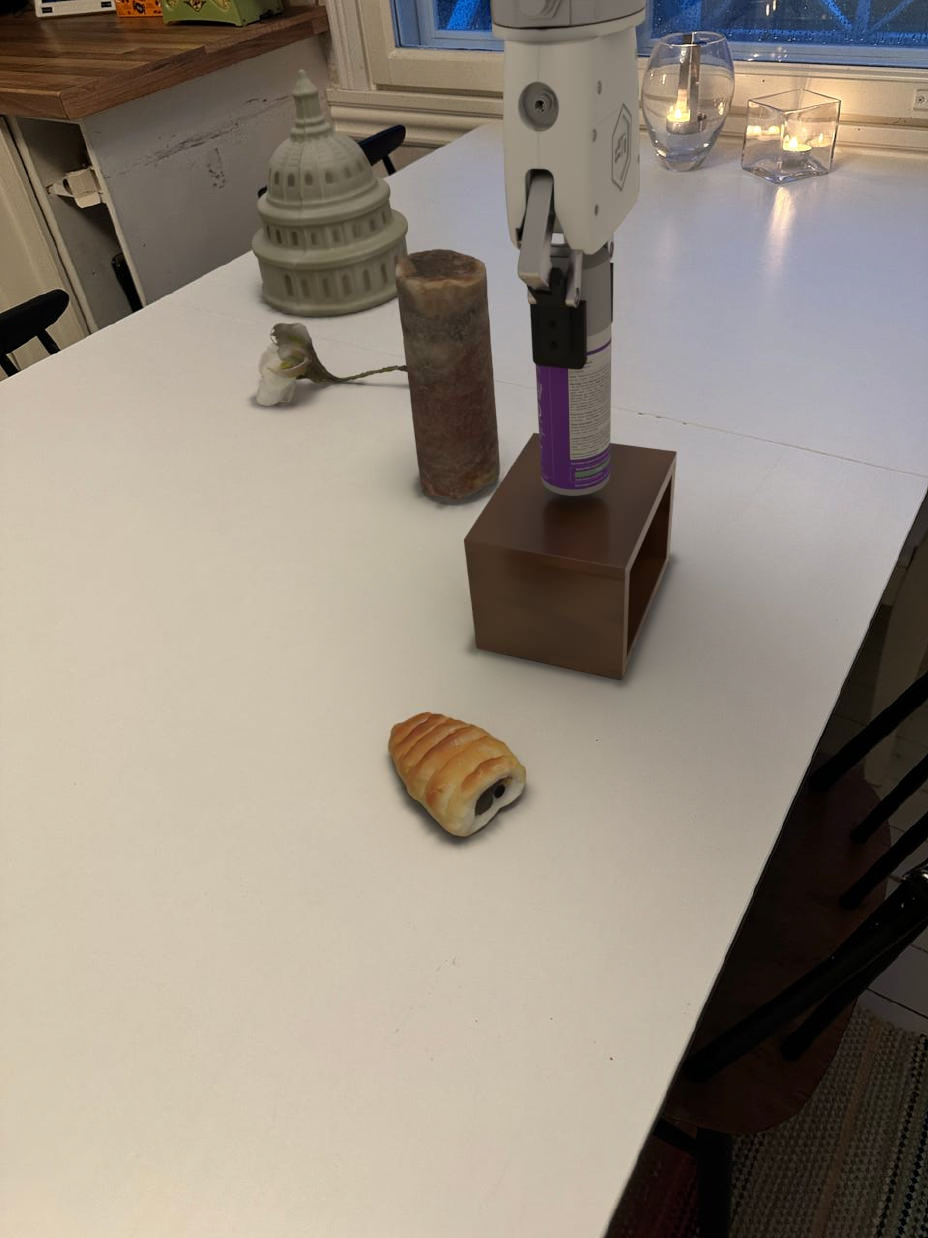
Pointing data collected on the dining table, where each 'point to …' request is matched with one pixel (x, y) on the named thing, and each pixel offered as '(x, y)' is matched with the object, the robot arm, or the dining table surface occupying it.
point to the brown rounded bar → (449, 370)
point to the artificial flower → (295, 365)
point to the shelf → (571, 561)
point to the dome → (325, 221)
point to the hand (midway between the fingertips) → (573, 341)
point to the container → (580, 395)
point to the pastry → (455, 770)
